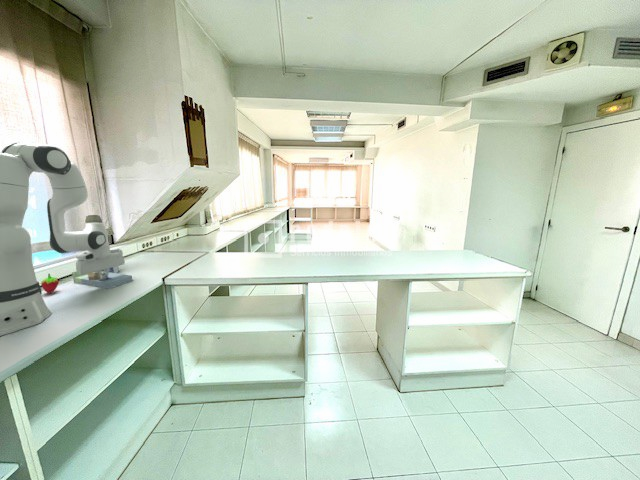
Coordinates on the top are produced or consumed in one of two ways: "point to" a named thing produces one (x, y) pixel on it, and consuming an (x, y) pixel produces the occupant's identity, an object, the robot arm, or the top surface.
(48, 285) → the strawberry
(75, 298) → the top surface
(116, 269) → the ink cartridge box
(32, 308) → the robot arm
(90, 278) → the beech block
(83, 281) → the trap board
